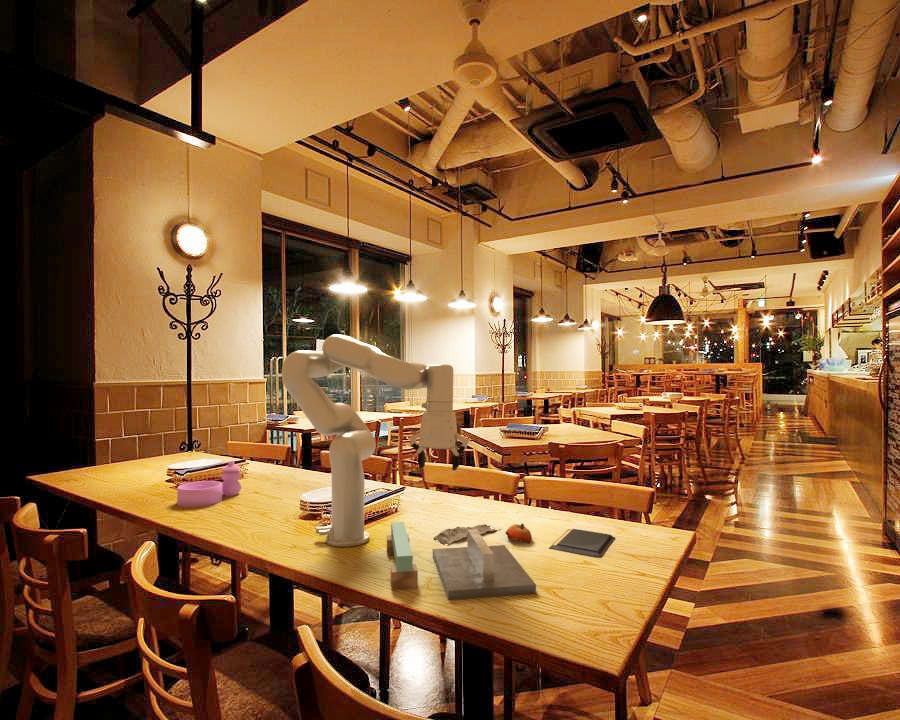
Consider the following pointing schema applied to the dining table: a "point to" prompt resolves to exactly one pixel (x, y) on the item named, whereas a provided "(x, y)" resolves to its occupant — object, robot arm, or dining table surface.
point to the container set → (210, 489)
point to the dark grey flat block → (583, 543)
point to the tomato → (519, 533)
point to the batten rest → (401, 578)
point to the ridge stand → (481, 570)
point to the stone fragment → (459, 533)
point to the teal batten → (401, 547)
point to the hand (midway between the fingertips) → (438, 468)
